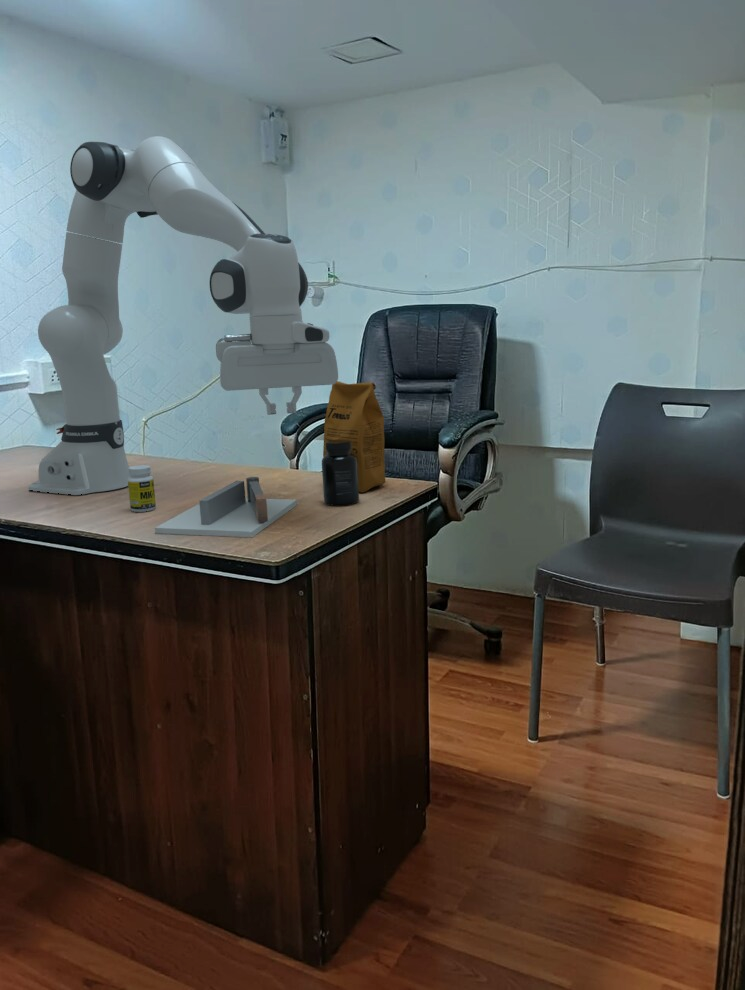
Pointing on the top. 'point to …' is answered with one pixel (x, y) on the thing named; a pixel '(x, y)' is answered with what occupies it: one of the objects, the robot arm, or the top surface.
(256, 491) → the tongs jaw
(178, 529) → the board
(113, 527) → the top surface
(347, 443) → the supplement bottle
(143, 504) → the supplement bottle
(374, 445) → the coffee package
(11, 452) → the top surface
